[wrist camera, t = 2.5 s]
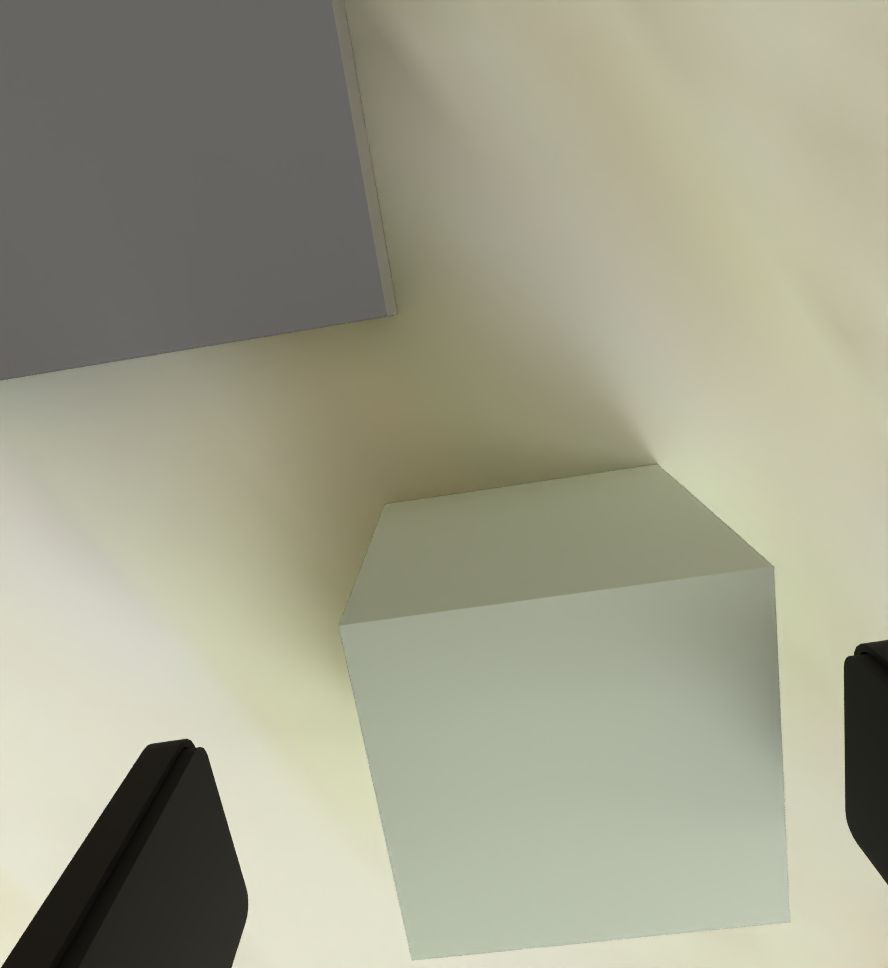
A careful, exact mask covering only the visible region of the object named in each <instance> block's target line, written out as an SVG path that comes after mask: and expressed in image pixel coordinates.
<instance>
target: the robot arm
mask: <svg viewBox="0 0 888 968" xmlns="http://www.w3.org/2000/svg"><path fill="white" fill-rule="evenodd" d="M844 721H845V811H846V819H847V823H848V826H849V829H850V831H851V833H852V836H853V838H854V839H855V841H856V842H857V844H858V845H859V847H860V848H861V849H862V851H863V852H864V853H865V855H866V856H867V857H868V859H869V860H870V861H871V863H872V864H873V865H874V867H875V868H876V869H877V871H878V872H879V873H880V875H881V876H882V878H883V879H884V880H885V882H886V883H887V884H888V640H885V641H878V642H871V643H864V644H860V645H858V646H857V647H856V649H855V652H854V656H848V657H847V658H846V660H845V662H844ZM247 913H248V894H247V889H246V886H245V882H244V879H243V875H242V872H241V868H240V865H239V862H238V858H237V855H236V851H235V848H234V844H233V841H232V838H231V834H230V831H229V827H228V824H227V820H226V817H225V813H224V810H223V807H222V803H221V800H220V796H219V793H218V789H217V786H216V782H215V779H214V776H213V772H212V769H211V765H210V762H209V758H208V755H207V753H206V751H205V750H204V748H202V747H198V748H195V746H194V744H193V743H192V741H191V740H189V739H182V740H175V741H168V742H161V743H153V744H150V745H148V746H147V747H146V748H145V749H144V750H143V752H142V753H141V755H140V756H139V758H138V759H137V761H136V762H135V764H134V765H133V767H132V768H131V770H130V771H129V773H128V775H127V776H126V778H125V779H124V781H123V782H122V784H121V785H120V787H119V788H118V790H117V791H116V793H115V794H114V796H113V797H112V799H111V800H110V802H109V804H108V805H107V807H106V808H105V810H104V811H103V813H102V814H101V816H100V817H99V819H98V820H97V822H96V823H95V825H94V826H93V828H92V829H91V831H90V833H89V834H88V836H87V837H86V839H85V840H84V842H83V843H82V845H81V846H80V848H79V849H78V851H77V852H76V854H75V855H74V857H73V858H72V860H71V862H70V863H69V865H68V866H67V868H66V869H65V871H64V872H63V874H62V875H61V877H60V878H59V880H58V881H57V883H56V884H55V886H54V888H53V889H52V891H51V892H50V894H49V895H48V897H47V898H46V900H45V901H44V903H43V904H42V906H41V907H40V909H39V910H38V912H37V913H36V915H35V917H34V918H33V920H32V921H31V923H30V924H29V926H28V927H27V929H26V930H25V932H24V933H23V935H22V936H21V938H20V939H19V941H18V942H17V944H16V946H15V947H14V949H13V950H12V952H11V953H10V955H9V956H8V958H7V959H6V961H5V962H4V964H3V965H2V967H1V968H231V967H232V964H233V961H234V958H235V954H236V951H237V948H238V945H239V942H240V939H241V935H242V932H243V929H244V926H245V923H246V919H247Z"/></svg>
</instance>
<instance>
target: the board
mask: <svg viewBox="0 0 888 968" xmlns="http://www.w3.org/2000/svg"><path fill="white" fill-rule="evenodd" d="M394 314H398V312H397V306H396V300H395V295H394V289H393V283H392V277H391V271H390V266H389V260H388V254H387V248H386V242H385V237H384V231H383V225H382V219H381V213H380V208H379V202H378V196H377V190H376V184H375V179H374V173H373V167H372V161H371V155H370V150H369V144H368V138H367V132H366V126H365V121H364V115H363V109H362V103H361V97H360V92H359V86H358V80H357V74H356V68H355V63H354V57H353V51H352V45H351V39H350V34H349V28H348V22H347V16H346V10H345V5H344V0H0V380H6V379H12V378H18V377H24V376H30V375H36V374H42V373H48V372H54V371H60V370H66V369H72V368H78V367H84V366H90V365H96V364H102V363H108V362H115V361H121V360H127V359H133V358H139V357H145V356H151V355H157V354H163V353H169V352H175V351H181V350H187V349H193V348H199V347H205V346H211V345H217V344H223V343H229V342H235V341H242V340H248V339H254V338H260V337H266V336H272V335H278V334H284V333H290V332H296V331H302V330H308V329H314V328H320V327H326V326H332V325H338V324H344V323H350V322H356V321H362V320H368V319H375V318H381V317H387V316H391V315H394Z"/></svg>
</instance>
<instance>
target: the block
mask: <svg viewBox="0 0 888 968" xmlns="http://www.w3.org/2000/svg"><path fill="white" fill-rule="evenodd" d="M339 630H340V634H341V639H342V644H343V648H344V653H345V657H346V662H347V666H348V671H349V676H350V680H351V685H352V689H353V694H354V698H355V703H356V708H357V712H358V717H359V721H360V726H361V730H362V735H363V740H364V744H365V749H366V753H367V758H368V762H369V767H370V771H371V776H372V781H373V785H374V790H375V794H376V799H377V803H378V808H379V813H380V817H381V822H382V826H383V831H384V835H385V840H386V845H387V849H388V854H389V858H390V863H391V867H392V872H393V876H394V881H395V886H396V890H397V895H398V899H399V904H400V908H401V913H402V918H403V922H404V927H405V931H406V936H407V940H408V945H409V950H410V954H411V959H412V960H421V959H431V958H441V957H451V956H461V955H470V954H480V953H490V952H500V951H510V950H520V949H530V948H539V947H549V946H559V945H569V944H579V943H589V942H599V941H608V940H618V939H628V938H638V937H648V936H658V935H668V934H677V933H687V932H697V931H707V930H717V929H727V928H737V927H746V926H756V925H766V924H776V923H786V922H790V909H789V887H788V865H787V843H786V821H785V799H784V777H783V755H782V733H781V711H780V689H779V667H778V645H777V623H776V601H775V578H774V566H773V565H772V564H771V563H769V562H768V561H767V560H766V559H765V558H764V557H763V556H762V555H760V554H759V553H758V552H757V551H756V550H755V549H754V548H752V547H751V546H750V545H749V544H748V543H747V542H746V541H745V540H743V539H742V538H741V537H740V536H739V535H738V534H737V533H735V532H734V531H733V530H732V529H731V528H730V527H729V526H728V525H726V524H725V523H724V522H723V521H722V520H721V519H720V518H718V517H717V516H716V515H715V514H714V513H713V512H712V511H711V510H709V509H708V508H707V507H706V506H705V505H704V504H703V503H701V502H700V501H699V500H698V499H697V498H696V497H695V496H694V495H692V494H691V493H690V492H689V491H688V490H687V489H686V488H684V487H683V486H682V485H681V484H680V483H679V482H678V481H677V480H675V479H674V478H673V477H672V476H671V475H670V474H669V473H667V472H666V471H665V470H664V469H663V468H662V467H661V466H660V465H658V464H654V465H648V466H641V467H634V468H627V469H621V470H614V471H607V472H600V473H594V474H587V475H580V476H573V477H566V478H560V479H553V480H546V481H539V482H533V483H526V484H519V485H512V486H505V487H499V488H492V489H485V490H478V491H472V492H465V493H458V494H451V495H445V496H438V497H431V498H424V499H417V500H411V501H404V502H397V503H390V504H385V506H384V509H383V511H382V514H381V516H380V519H379V522H378V524H377V527H376V529H375V532H374V535H373V537H372V540H371V542H370V545H369V548H368V550H367V553H366V556H365V558H364V561H363V563H362V566H361V569H360V571H359V574H358V576H357V579H356V582H355V584H354V587H353V589H352V592H351V595H350V597H349V600H348V602H347V605H346V608H345V610H344V613H343V616H342V618H341V621H340V623H339Z"/></svg>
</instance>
